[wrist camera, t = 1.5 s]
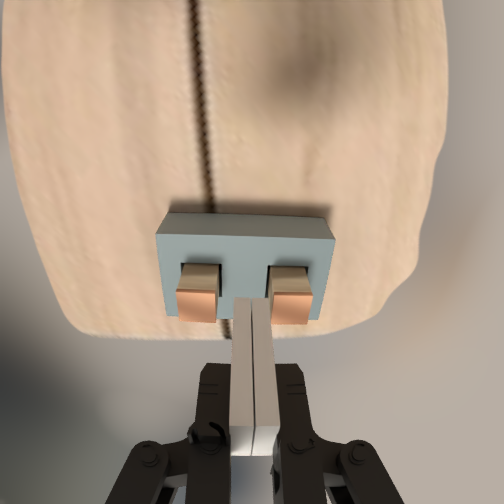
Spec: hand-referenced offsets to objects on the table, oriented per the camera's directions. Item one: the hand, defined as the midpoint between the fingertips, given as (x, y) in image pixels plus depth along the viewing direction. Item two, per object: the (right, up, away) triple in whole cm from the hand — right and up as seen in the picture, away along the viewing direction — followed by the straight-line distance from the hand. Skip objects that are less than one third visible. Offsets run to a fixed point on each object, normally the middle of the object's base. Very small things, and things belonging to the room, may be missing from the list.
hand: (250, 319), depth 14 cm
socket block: (-1, +3, +26) cm, 27 cm away
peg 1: (-6, 0, +22) cm, 23 cm away
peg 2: (+4, 0, +22) cm, 23 cm away
